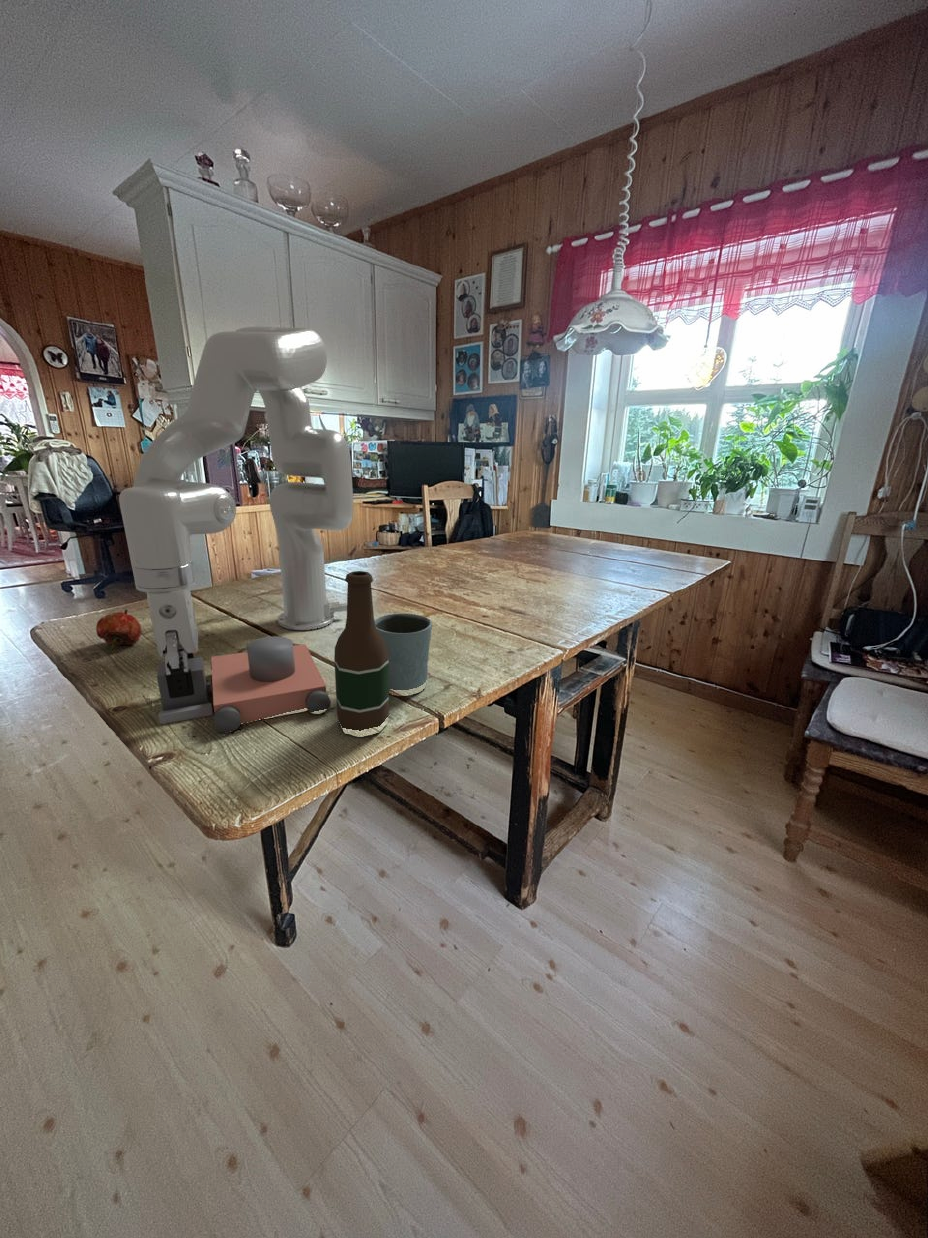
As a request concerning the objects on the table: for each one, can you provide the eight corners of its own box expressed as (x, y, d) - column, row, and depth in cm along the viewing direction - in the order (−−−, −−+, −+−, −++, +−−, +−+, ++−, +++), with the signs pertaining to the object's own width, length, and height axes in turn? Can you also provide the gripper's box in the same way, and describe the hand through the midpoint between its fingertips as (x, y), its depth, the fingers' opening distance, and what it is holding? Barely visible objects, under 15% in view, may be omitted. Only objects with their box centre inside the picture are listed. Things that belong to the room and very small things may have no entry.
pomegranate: (137, 662, 95) (158, 619, 101) (110, 643, 89) (133, 599, 95) (104, 662, 96) (126, 620, 102) (75, 644, 90) (100, 600, 96)
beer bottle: (341, 711, 78) (334, 565, 69) (390, 711, 78) (389, 566, 70) (333, 739, 70) (324, 580, 62) (387, 739, 71) (385, 581, 63)
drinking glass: (387, 704, 81) (387, 637, 76) (365, 678, 88) (363, 617, 84) (440, 690, 86) (442, 627, 82) (415, 668, 94) (415, 609, 90)
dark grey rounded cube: (208, 695, 81) (202, 656, 78) (208, 709, 76) (202, 669, 74) (166, 702, 78) (159, 662, 76) (164, 717, 74) (156, 676, 71)
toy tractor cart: (306, 659, 95) (303, 616, 92) (331, 712, 77) (328, 661, 74) (165, 680, 84) (157, 632, 81) (156, 747, 67) (145, 689, 64)
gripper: (194, 589, 64) (211, 703, 70) (195, 560, 79) (209, 656, 84) (126, 595, 61) (150, 713, 67) (140, 563, 75) (159, 663, 81)
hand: (183, 681), depth 76 cm, fingers open, 9 cm apart
